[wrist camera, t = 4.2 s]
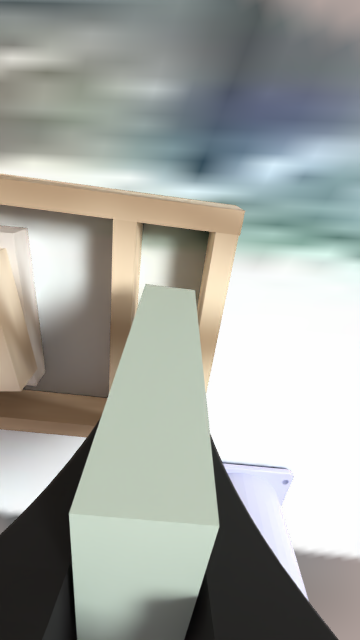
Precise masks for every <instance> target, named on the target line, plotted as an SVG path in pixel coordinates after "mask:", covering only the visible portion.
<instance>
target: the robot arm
mask: <svg viewBox="0 0 360 640" xmlns="http://www.w3.org/2000/svg"><path fill="white" fill-rule="evenodd" d="M100 419H101V417H100ZM100 419H99V421H98V422H97V424H96V425H95V427H94V428H93V430H92V431H91V433H90V434H89V435H88V437H87V438H86V440H85V441H84V442H83V444H82V445H81V446H80V447H79V449H78V450H77V451H76V453H75V454H74V455H73V457H72V458H71V459H70V460H69V462H68V463H67V464H66V465H65V466H64V468H63V469H62V470H61V471H60V472H59V473H58V475H57V476H56V477H55V478H54V479H53V480H52V482H51V483H50V484H49V485H48V486H47V487H46V489H45V490H44V491H43V492H42V493H41V494H40V495H39V496H38V497H37V498H36V499H35V500H34V502H33V503H32V504H31V505H30V506H29V507H28V508H27V509H26V510H25V511H24V512H23V513H22V514H21V515H20V516H19V517H18V518H17V519H16V520H15V521H14V522H13V523H12V524H11V525H10V526H9V527H8V528H7V529H6V530H5V531H4V532H2V533H1V535H0V640H77V629H76V614H75V599H74V583H73V568H72V553H71V537H70V522H69V512H70V509H71V506H72V503H73V500H74V497H75V494H76V491H77V488H78V485H79V482H80V479H81V476H82V473H83V470H84V467H85V464H86V461H87V458H88V455H89V452H90V449H91V446H92V443H93V440H94V437H95V434H96V431H97V428H98V425H99V422H100ZM210 440H211V450H212V459H213V469H214V479H215V488H216V498H217V508H218V517H219V529H218V532H217V536H216V539H215V542H214V545H213V549H212V552H211V555H210V558H209V561H208V565H207V568H206V571H205V574H204V578H203V581H202V584H201V587H200V590H199V594H198V597H197V600H196V603H195V607H194V610H193V613H192V616H191V619H190V623H189V626H188V629H187V632H186V636H185V639H184V640H338V638H337V637H336V636H335V635H334V633H333V632H332V631H331V630H330V628H329V627H328V626H327V625H326V623H325V622H324V621H323V620H322V618H321V617H320V616H319V614H318V613H317V612H316V611H315V609H314V608H313V607H312V605H311V604H310V603H309V600H308V597H307V594H306V590H305V587H304V584H303V580H302V577H301V573H300V570H299V567H298V563H297V560H296V557H295V553H294V550H293V546H292V543H291V540H290V536H289V533H288V529H287V526H286V523H285V519H284V516H283V513H282V509H281V505H282V503H283V500H284V498H285V496H286V493H287V491H288V489H289V487H290V484H291V482H292V480H293V477H294V476H293V473H292V471H291V470H288V469H278V468H267V467H256V466H245V465H234V464H223V463H222V461H221V459H220V456H219V454H218V452H217V449H216V447H215V445H214V442H213V440H212V437H211V435H210Z"/></svg>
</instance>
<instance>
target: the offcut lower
mask: <svg viewBox="0 0 360 640" xmlns="http://www.w3.org/2000/svg"><path fill="white" fill-rule="evenodd" d="M0 248H6V250H7V254H8V258H9V261H10V265H11V269H12V273H13V277H14V280H15V284H16V288H17V292H18V296H19V300H20V303H21V307H22V311H23V315H24V319H25V323H26V326H27V330H28V334H29V338H30V342H31V345H32V349H33V353H34V357H35V361H36V365H37V368H38V369H37V370H36V371H35V373H34V374H33V376H32V377H31V378H30V380H29V381H28V383H27V384H26V385H29V386H36V385H37V384H38V382H39V381H40V379H41V378H42V376H43V375H44V374H45V372H46V371H45V363H44V355H43V347H42V339H41V331H40V323H39V316H38V308H37V300H36V292H35V284H34V276H33V268H32V260H31V252H30V244H29V236H28V228H21V227H10V226H0Z"/></svg>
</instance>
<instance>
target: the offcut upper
mask: <svg viewBox="0 0 360 640" xmlns="http://www.w3.org/2000/svg"><path fill="white" fill-rule="evenodd" d="M37 369H38V368H37V365H36V361H35V357H34V353H33V349H32V345H31V342H30V338H29V334H28V330H27V326H26V323H25V319H24V315H23V311H22V307H21V303H20V300H19V296H18V292H17V288H16V284H15V280H14V277H13V273H12V269H11V265H10V261H9V258H8V254H7V250H6V248H0V391H22V389H23V388H24V387H25V385H26V384H27V383H28V381H29V380H30V378H31V377H32V376H33V374H34V373H35V371H36V370H37Z"/></svg>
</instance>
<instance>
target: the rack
mask: <svg viewBox="0 0 360 640" xmlns="http://www.w3.org/2000/svg"><path fill="white" fill-rule="evenodd" d="M0 204H1V205H9V206H16V207H24V208H32V209H40V210H47V211H55V212H63V213H70V214H78V215H86V216H93V217H101V218H109V219H113V242H112V283H111V324H110V365H109V392H110V389H111V386H112V383H113V380H114V377H115V374H116V371H117V368H118V365H119V362H120V359H121V356H122V353H123V350H124V347H125V344H126V341H127V338H128V335H129V332H130V329H131V326H132V323H133V320H134V317H135V314H136V311H137V305H138V290H139V275H140V260H141V245H142V230H143V223H147V224H155V225H163V226H170V227H178V228H186V229H194V230H201V231H209V238H208V244H207V250H206V256H205V262H204V268H203V274H202V280H201V287H200V293H199V299H198V305H197V315H198V324H199V334H200V343H201V353H202V363H203V372H204V382H205V392H206V391H207V386H208V381H209V377H210V372H211V367H212V362H213V357H214V352H215V348H216V343H217V338H218V333H219V328H220V323H221V319H222V314H223V309H224V304H225V299H226V294H227V290H228V285H229V280H230V275H231V270H232V265H233V261H234V256H235V251H236V246H237V241H238V236H239V235H240V232H241V228H242V223H243V218H244V213H245V211H244V210H242V209H241V208H239V207H237V206H236V205H229V204H222V203H214V202H207V201H199V200H192V199H185V198H177V197H170V196H162V195H155V194H147V193H140V192H133V191H125V190H118V189H110V188H103V187H96V186H88V185H81V184H73V183H66V182H58V181H51V180H44V179H36V178H29V177H21V176H14V175H7V174H0ZM106 401H107V398H102V397H92V396H82V395H72V394H62V393H52V392H42V391H32V390H23V389H22V391H0V429H4V430H15V431H26V432H36V433H47V434H58V435H68V436H79V437H88V435H89V434H90V433H91V431H92V430H93V428H94V427H95V425H96V424H97V422H98V421H99V419H100V417H101V416H102V413H103V410H104V407H105V404H106Z"/></svg>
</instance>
